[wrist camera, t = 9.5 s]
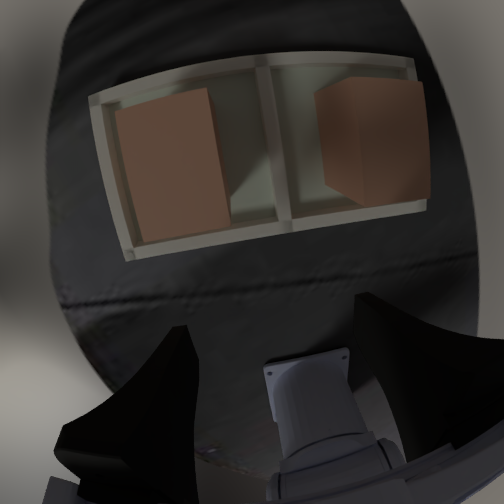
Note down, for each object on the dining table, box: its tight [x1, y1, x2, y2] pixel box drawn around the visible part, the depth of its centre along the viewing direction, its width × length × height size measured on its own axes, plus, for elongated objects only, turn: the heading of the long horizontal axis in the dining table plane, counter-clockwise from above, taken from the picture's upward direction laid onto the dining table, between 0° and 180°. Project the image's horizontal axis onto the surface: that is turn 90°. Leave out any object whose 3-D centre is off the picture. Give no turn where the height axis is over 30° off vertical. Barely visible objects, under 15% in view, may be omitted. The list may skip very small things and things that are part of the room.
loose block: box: [313, 77, 431, 207], centre depth 14 cm, size 6×4×6 cm, turn 9°
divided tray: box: [88, 51, 426, 261], centre depth 17 cm, size 11×21×2 cm, turn 99°
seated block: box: [115, 87, 231, 242], centre depth 14 cm, size 6×4×6 cm, turn 9°
